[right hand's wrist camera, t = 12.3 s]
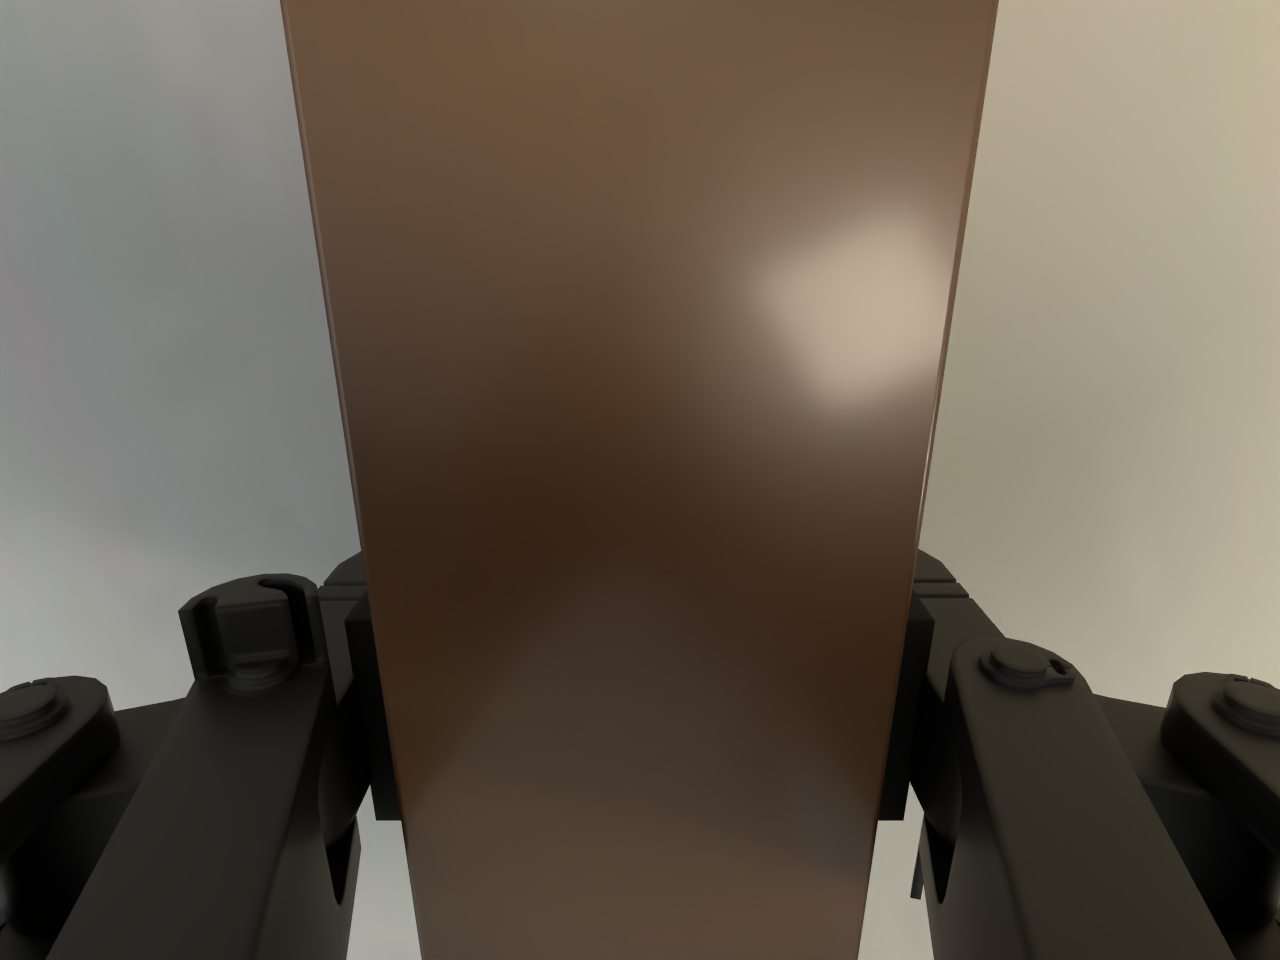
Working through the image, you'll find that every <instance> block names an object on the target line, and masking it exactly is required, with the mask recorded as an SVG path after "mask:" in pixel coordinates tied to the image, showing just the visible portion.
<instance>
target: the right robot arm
mask: <svg viewBox="0 0 1280 960" xmlns="http://www.w3.org/2000/svg"><path fill="white" fill-rule="evenodd" d="M178 613H179V617H180V621H181V625H182V629H183V633H184V637H185V641H186V645H187V649H188V653H189V657H190V661H191V665H192V669H193V673H194V677H195V681H194V683H193V685H192V687H191V689H190V690H189V692H188V694H187V696H186V697H185V698H181V699H177V700H173V701H167V702H162V703H157V704H151V705H146V706H141V707H136V708H130V709H125V710H120V711H114V710H113V706H112V703H111V700H110V696H109V693H108V689H107V687H106V686H105V685H104V684H102V683H101V682H100V681H98V680H97V679H96V678H89V677H82V676H66V677H57V678H43V679H38V680H33V682H32V683H30V682H26V683H23V684H20V685H16V686H14V687H11V688H10V689H8V690H7V691H5V692H3V693H0V960H346V957H347V950H348V942H349V935H350V927H351V920H352V913H353V905H354V898H355V890H356V883H357V875H358V868H359V861H360V853H361V843H360V835H359V829H358V823H357V817H356V813H357V811H358V809H359V807H360V805H361V803H362V800H363V798H364V796H365V794H366V792H367V790H368V788H369V785H371V791H372V798H373V804H374V810H375V816H376V820H401V815H400V808H399V802H398V795H397V788H396V781H395V775H394V768H393V761H392V754H391V748H390V741H389V734H388V727H387V721H386V714H385V707H384V700H383V694H382V687H381V680H380V673H379V666H378V660H377V653H376V646H375V639H374V633H373V626H372V619H371V612H370V606H369V599H368V592H367V585H366V579H365V572H364V565H363V558H362V552H359V553H358V554H356V555H354V556H352V557H351V558H349V559H347V560H346V561H344V562H342V563H340V564H339V565H338V566H337V567H336V568H335V570H334V571H333V572H332V573H331V574H330V575H329V577H328V578H327V579H326V580H325V581H324V586H320V587H319V588H318V590H317V585H316V584H315V583H313V582H312V581H310V580H309V579H308V578H306V577H302V576H297V575H292V574H261V575H256V576H250V577H244V578H239V579H235V580H232V581H229V582H226V583H223V584H220V585H217V586H214V587H212V588H210V589H208V590H206V591H204V592H202V593H200V594H199V595H197V596H195V597H193V598H191V599H190V600H189V601H188V602H187V603H186V604H185V605H184V606H183V607H182V608H181V609H180V610H178ZM909 782H910V783H911V785H912V787H913V789H914V791H915V793H916V796H917V798H918V800H919V802H920V804H921V806H922V808H923V810H924V817H923V823H922V829H921V835H920V841H919V846H918V852H917V858H916V864H915V870H914V876H913V881H912V889H911V896H910V898H915V899H921V894H922V888H923V884H924V889H925V896H926V903H927V911H928V918H929V926H930V933H931V940H932V948H933V955H934V960H1280V690H1279V689H1277V688H1275V687H1273V686H1272V685H1271V684H1269V683H1266V682H1263V681H1260V680H1257V679H1253V678H1251V680H1250V679H1248V678H1247V677H1246V676H1241V675H1236V674H1220V673H1210V672H1202V673H1194V674H1187V675H1184V676H1183V677H1181V678H1180V679H1178V680H1177V681H1176V682H1174V684H1173V687H1172V690H1171V694H1170V697H1169V701H1168V704H1167V707H1166V708H1163V707H1157V706H1152V705H1147V704H1141V703H1136V702H1131V701H1125V700H1120V699H1115V698H1109V697H1105V696H1101V695H1097V694H1093V693H1092V691H1091V689H1090V687H1089V685H1088V684H1087V682H1086V680H1085V678H1084V677H1083V676H1082V675H1081V674H1080V673H1079V671H1078V670H1077V669H1076V668H1075V667H1074V666H1073V665H1072V664H1071V663H1069V662H1068V661H1066V660H1064V659H1063V658H1061V657H1060V656H1058V655H1057V654H1055V653H1053V652H1051V651H1049V650H1046V649H1044V648H1041V647H1039V646H1036V645H1034V644H1031V643H1028V642H1024V641H1019V640H1014V639H1009V638H1005V636H1004V635H1003V634H1002V633H1001V632H1000V631H999V629H998V628H997V627H996V626H995V625H994V624H993V622H992V621H991V620H990V619H989V618H988V616H987V615H986V614H985V613H984V612H983V611H982V609H981V608H980V607H979V606H978V605H977V604H976V602H975V601H974V600H973V599H972V598H969V594H968V593H967V592H966V591H965V589H964V588H963V587H962V586H961V585H960V584H959V583H956V579H955V578H954V577H953V575H952V574H951V573H950V572H949V571H948V569H947V568H946V567H945V566H944V565H943V564H942V562H940V561H939V560H937V559H935V558H934V557H932V556H930V555H928V554H927V553H925V552H923V551H921V550H920V549H918V552H917V559H916V566H915V572H914V579H913V586H912V593H911V600H910V606H909V613H908V620H907V627H906V634H905V640H904V647H903V654H902V661H901V668H900V674H899V681H898V688H897V695H896V702H895V708H894V715H893V722H892V729H891V735H890V742H889V749H888V756H887V763H886V769H885V776H884V783H883V790H882V797H881V803H880V810H879V817H878V820H903V819H904V813H905V807H906V801H907V794H908V788H909Z"/></svg>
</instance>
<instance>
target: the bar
mask: <svg viewBox="0 0 1280 960" xmlns="http://www.w3.org/2000/svg"><path fill="white" fill-rule="evenodd" d="M998 2H999V0H280V4H281V11H282V17H283V24H284V31H285V38H286V44H287V51H288V58H289V65H290V71H291V78H292V85H293V92H294V98H295V105H296V112H297V119H298V126H299V132H300V139H301V146H302V153H303V159H304V166H305V173H306V180H307V186H308V193H309V200H310V207H311V213H312V220H313V227H314V234H315V240H316V247H317V254H318V261H319V268H320V274H321V281H322V288H323V295H324V301H325V308H326V315H327V322H328V328H329V335H330V342H331V349H332V355H333V362H334V369H335V376H336V382H337V389H338V396H339V403H340V410H341V416H342V423H343V430H344V437H345V443H346V450H347V457H348V464H349V470H350V477H351V484H352V491H353V497H354V504H355V511H356V518H357V524H358V531H359V538H360V545H361V552H362V558H363V565H364V572H365V579H366V585H367V592H368V599H369V606H370V612H371V619H372V626H373V633H374V639H375V646H376V653H377V660H378V666H379V673H380V680H381V687H382V694H383V700H384V707H385V714H386V721H387V727H388V734H389V741H390V748H391V754H392V761H393V768H394V775H395V781H396V788H397V795H398V802H399V808H400V815H401V822H402V829H403V836H404V842H405V849H406V856H407V863H408V869H409V876H410V883H411V890H412V896H413V903H414V910H415V917H416V923H417V930H418V937H419V944H420V950H421V957H422V960H858V953H859V946H860V939H861V932H862V926H863V919H864V912H865V905H866V898H867V892H868V885H869V878H870V871H871V865H872V858H873V851H874V844H875V837H876V831H877V824H878V817H879V810H880V803H881V797H882V790H883V783H884V776H885V769H886V763H887V756H888V749H889V742H890V735H891V729H892V722H893V715H894V708H895V702H896V695H897V688H898V681H899V674H900V668H901V661H902V654H903V647H904V640H905V634H906V627H907V620H908V613H909V606H910V600H911V593H912V586H913V579H914V572H915V566H916V559H917V552H918V545H919V538H920V532H921V525H922V518H923V511H924V505H925V498H926V491H927V484H928V477H929V471H930V464H931V457H932V450H933V443H934V437H935V430H936V423H937V416H938V409H939V403H940V396H941V389H942V382H943V375H944V369H945V362H946V355H947V348H948V341H949V335H950V328H951V321H952V314H953V308H954V301H955V294H956V287H957V280H958V274H959V267H960V260H961V253H962V246H963V240H964V233H965V226H966V219H967V212H968V206H969V199H970V192H971V185H972V178H973V172H974V165H975V158H976V151H977V144H978V138H979V131H980V124H981V117H982V111H983V104H984V97H985V90H986V83H987V77H988V70H989V63H990V56H991V49H992V43H993V36H994V29H995V22H996V15H997V9H998Z"/></svg>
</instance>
